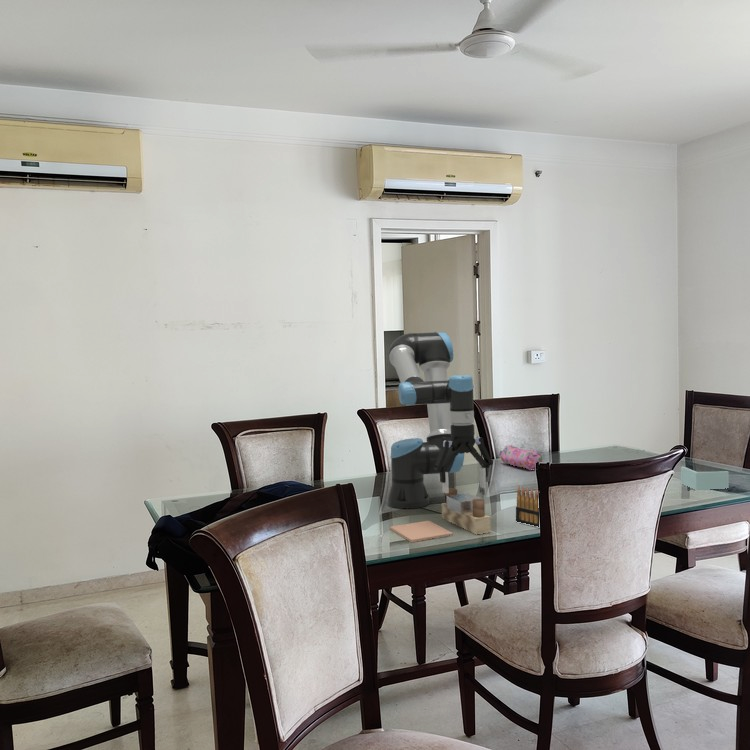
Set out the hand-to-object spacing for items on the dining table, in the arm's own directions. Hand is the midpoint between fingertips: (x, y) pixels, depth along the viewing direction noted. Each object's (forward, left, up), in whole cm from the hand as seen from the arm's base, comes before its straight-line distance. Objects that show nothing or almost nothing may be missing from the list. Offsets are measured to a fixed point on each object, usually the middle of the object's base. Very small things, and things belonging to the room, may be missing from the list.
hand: (464, 490), depth 219 cm
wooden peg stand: (0, 0, -12) cm, 11 cm away
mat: (0, -16, -12) cm, 20 cm away
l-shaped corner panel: (+2, +101, -12) cm, 102 cm away
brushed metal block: (0, 0, -7) cm, 7 cm away
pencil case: (-67, +68, -12) cm, 96 cm away
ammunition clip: (+10, +18, -12) cm, 24 cm away
